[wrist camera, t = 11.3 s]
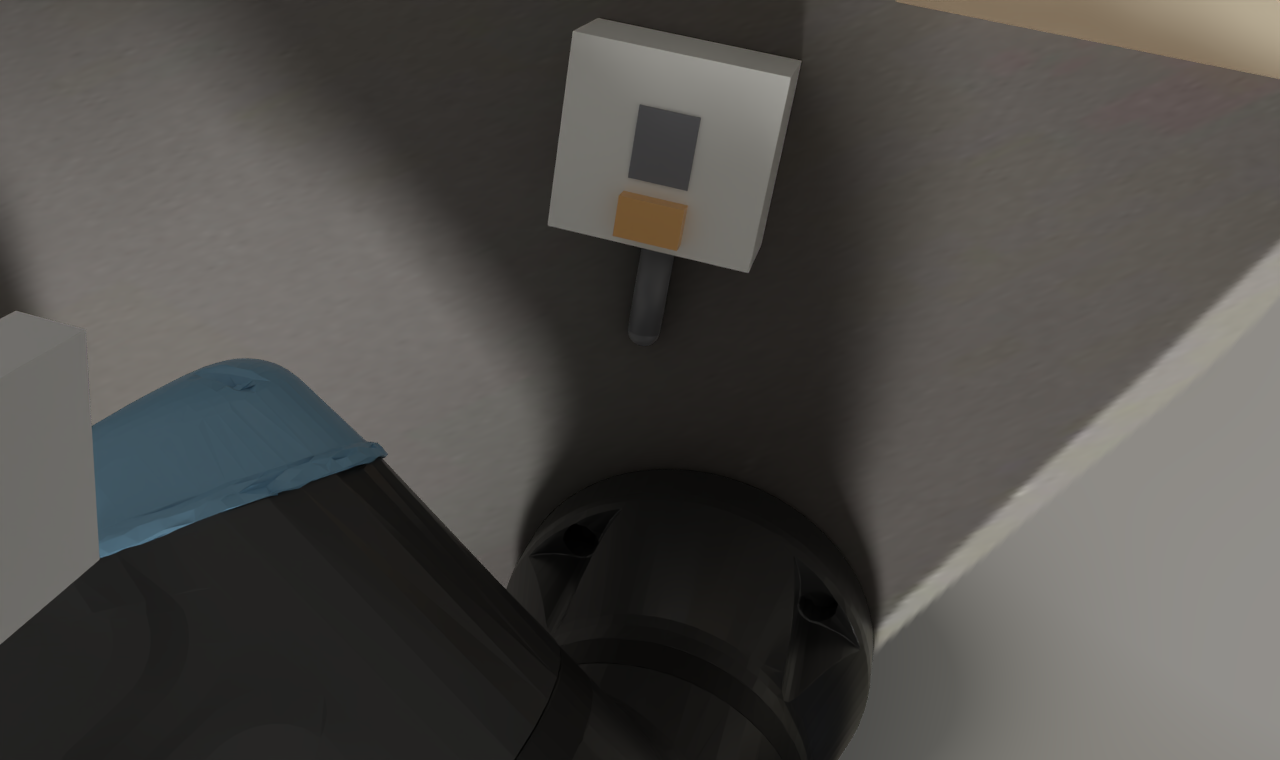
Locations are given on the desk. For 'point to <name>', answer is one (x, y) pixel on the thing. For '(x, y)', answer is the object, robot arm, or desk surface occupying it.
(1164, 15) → the birch board
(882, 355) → the desk surface
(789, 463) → the desk surface
